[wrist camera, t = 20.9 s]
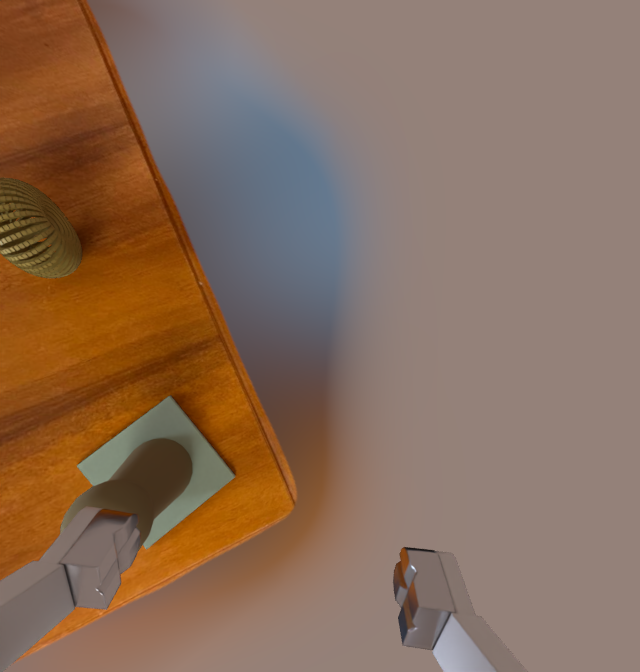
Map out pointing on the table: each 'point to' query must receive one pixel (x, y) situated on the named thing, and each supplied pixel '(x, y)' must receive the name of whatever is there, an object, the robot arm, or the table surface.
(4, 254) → the sculpture
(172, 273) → the table surface
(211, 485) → the mat
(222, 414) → the table surface
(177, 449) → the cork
